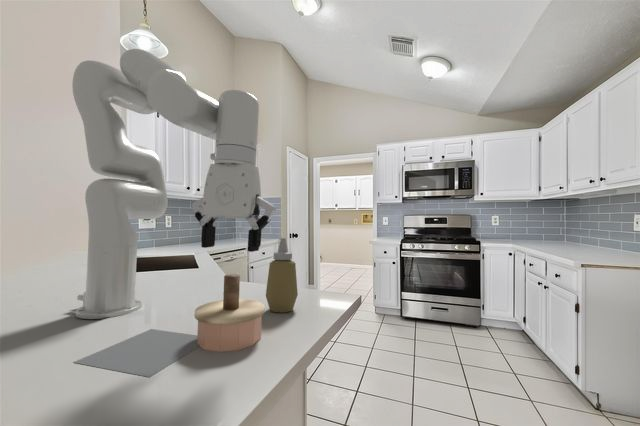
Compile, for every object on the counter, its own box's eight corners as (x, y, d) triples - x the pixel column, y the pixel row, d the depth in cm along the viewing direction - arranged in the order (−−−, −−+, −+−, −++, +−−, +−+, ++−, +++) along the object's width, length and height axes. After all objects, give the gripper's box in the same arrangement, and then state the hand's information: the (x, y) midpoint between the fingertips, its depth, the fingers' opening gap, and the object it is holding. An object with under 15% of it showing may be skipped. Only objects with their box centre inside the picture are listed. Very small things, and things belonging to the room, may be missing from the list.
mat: (73, 364, 42) (73, 362, 42) (151, 331, 55) (151, 328, 55) (149, 379, 38) (149, 376, 38) (212, 339, 52) (212, 337, 52)
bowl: (184, 348, 48) (185, 318, 48) (221, 326, 59) (222, 302, 59) (241, 357, 45) (242, 325, 46) (270, 332, 56) (270, 306, 56)
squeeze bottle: (292, 316, 66) (293, 239, 67) (259, 313, 68) (262, 238, 69) (301, 306, 74) (302, 238, 75) (272, 304, 76) (274, 237, 76)
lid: (178, 319, 48) (179, 279, 48) (221, 300, 60) (222, 268, 60) (243, 327, 45) (245, 284, 45) (275, 306, 57) (276, 272, 57)
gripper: (183, 154, 52) (177, 247, 52) (269, 154, 48) (263, 255, 47) (208, 163, 59) (203, 244, 59) (285, 163, 55) (280, 250, 55)
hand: (230, 248), depth 53 cm, fingers open, 9 cm apart
